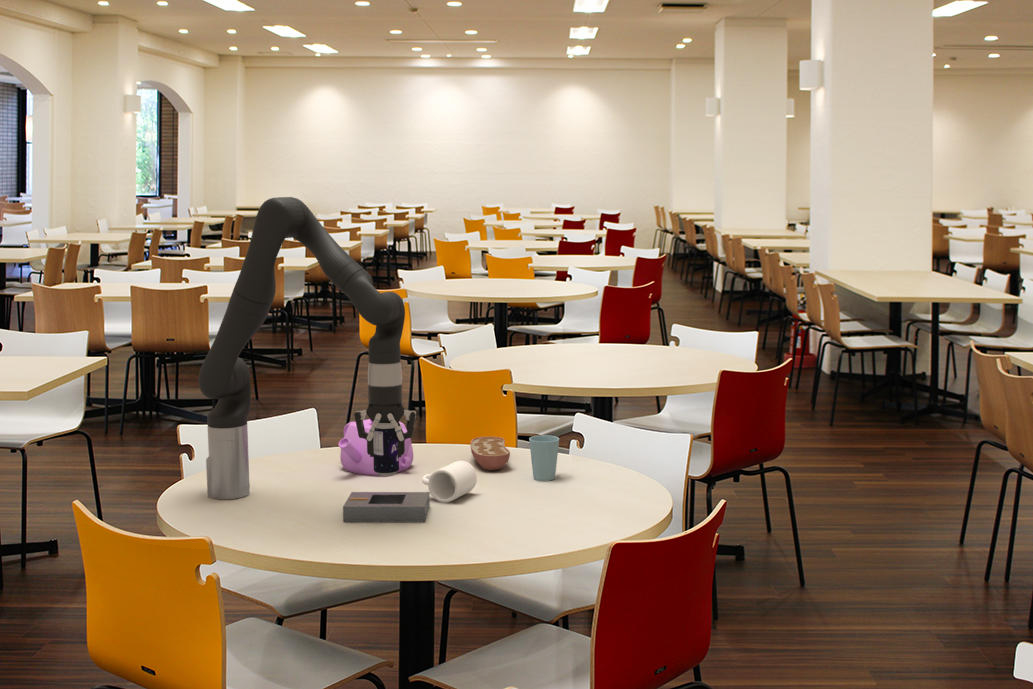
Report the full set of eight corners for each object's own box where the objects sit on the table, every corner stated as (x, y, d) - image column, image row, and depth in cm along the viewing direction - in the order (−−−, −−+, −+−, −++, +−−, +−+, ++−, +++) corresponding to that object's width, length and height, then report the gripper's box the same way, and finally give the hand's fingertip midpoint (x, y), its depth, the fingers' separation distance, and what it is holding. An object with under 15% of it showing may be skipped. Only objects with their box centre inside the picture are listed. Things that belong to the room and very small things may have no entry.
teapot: (412, 458, 294) (411, 407, 292) (414, 478, 273) (413, 423, 271) (342, 461, 292) (341, 409, 290) (339, 480, 271) (337, 425, 269)
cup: (533, 483, 268) (533, 442, 267) (525, 475, 276) (525, 435, 274) (562, 481, 270) (562, 440, 269) (554, 473, 277) (554, 434, 276)
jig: (343, 522, 235) (342, 505, 235) (351, 506, 247) (351, 491, 247) (424, 522, 235) (424, 505, 235) (429, 506, 247) (429, 491, 247)
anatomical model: (511, 473, 278) (511, 455, 277) (473, 474, 277) (473, 456, 276) (503, 453, 301) (503, 436, 300) (468, 454, 300) (467, 436, 299)
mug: (477, 494, 258) (477, 462, 257) (457, 504, 249) (457, 471, 248) (433, 488, 263) (433, 457, 262) (413, 498, 254) (412, 466, 253)
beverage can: (394, 477, 237) (393, 424, 235) (370, 476, 238) (369, 423, 236) (402, 471, 242) (401, 419, 241) (378, 469, 243) (377, 418, 242)
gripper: (349, 385, 234) (351, 460, 236) (415, 385, 234) (416, 460, 236) (355, 379, 241) (356, 452, 243) (418, 379, 241) (419, 452, 243)
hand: (386, 456), depth 240 cm, fingers closed on beverage can, 5 cm apart
